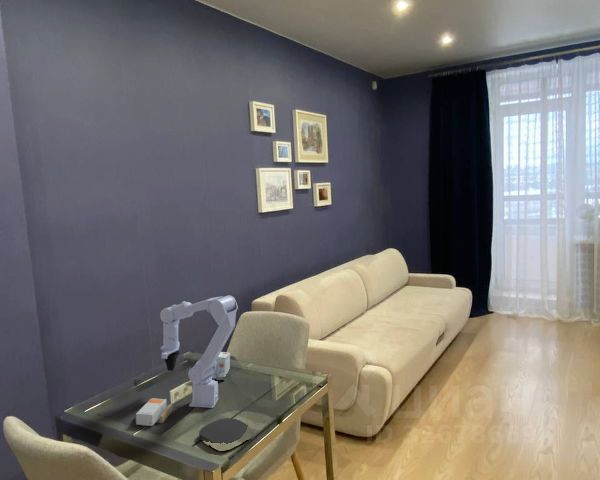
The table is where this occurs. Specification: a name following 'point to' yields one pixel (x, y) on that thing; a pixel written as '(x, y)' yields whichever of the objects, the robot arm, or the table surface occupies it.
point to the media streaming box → (223, 431)
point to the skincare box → (150, 412)
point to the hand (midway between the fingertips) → (170, 369)
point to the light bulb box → (222, 365)
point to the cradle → (165, 414)
